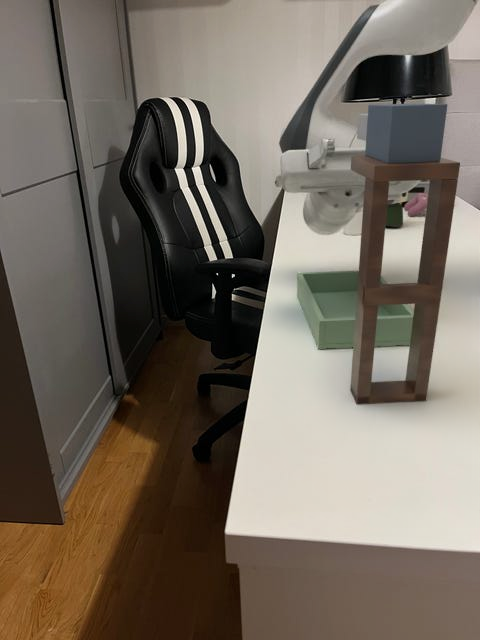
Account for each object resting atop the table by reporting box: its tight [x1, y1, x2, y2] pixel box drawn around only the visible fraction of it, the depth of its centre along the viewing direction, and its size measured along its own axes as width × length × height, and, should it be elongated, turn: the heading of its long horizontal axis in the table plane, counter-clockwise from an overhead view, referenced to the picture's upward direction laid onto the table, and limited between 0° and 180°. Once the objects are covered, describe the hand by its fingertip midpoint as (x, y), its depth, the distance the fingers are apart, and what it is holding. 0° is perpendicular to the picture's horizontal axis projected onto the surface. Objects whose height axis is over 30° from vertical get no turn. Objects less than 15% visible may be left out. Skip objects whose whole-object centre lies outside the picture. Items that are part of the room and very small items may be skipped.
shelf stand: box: [349, 155, 461, 405], centre depth 55 cm, size 8×9×26 cm
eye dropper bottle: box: [342, 211, 363, 236], centre depth 124 cm, size 4×6×12 cm
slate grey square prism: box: [356, 103, 448, 164], centre depth 53 cm, size 5×16×5 cm, turn 2°
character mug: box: [385, 191, 408, 228], centre depth 130 cm, size 11×7×13 cm, turn 157°
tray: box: [296, 269, 414, 350], centre depth 78 cm, size 14×21×4 cm, turn 2°
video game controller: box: [403, 193, 428, 217], centre depth 144 cm, size 10×5×7 cm, turn 170°
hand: (366, 142), depth 62 cm, fingers open, 8 cm apart
